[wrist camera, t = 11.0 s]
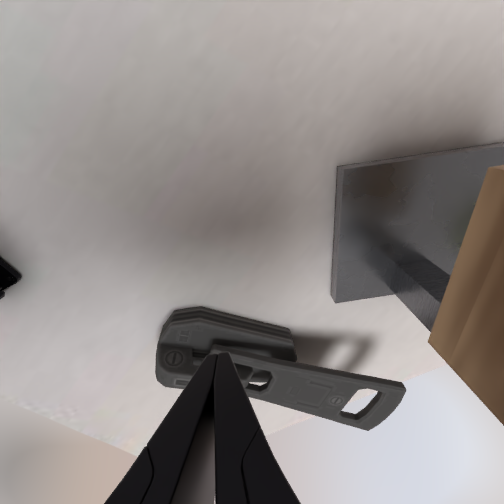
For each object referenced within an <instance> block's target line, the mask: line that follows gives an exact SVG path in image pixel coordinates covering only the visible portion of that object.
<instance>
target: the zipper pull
mask: <svg viewBox="0 0 504 504" xmlns="http://www.w3.org/2000/svg"><path fill="white" fill-rule="evenodd" d="M226 351H228V352H229V353H230V355H231V358H232V360H233V362H234V365H235V367H236V370H237V372H238V374H239V377H240V379H241V381H242V384H243V386H244V388H245V391H246V393H247V396H248V397H251V398H255V399H259V400H263V401H267V402H270V403H274V404H277V405H281V406H284V407H288V408H291V409H294V410H298V411H301V412H305V413H308V414H312V415H315V416H319V417H322V418H326V419H329V420H333V421H336V422H339V423H342V424H346V425H350V426H353V427H357V428H360V429H363V430H367V431H369V430H370V429H372V428H374V427H375V426H377V425H379V424H380V423H381V422H382V421H383V420H385V419H386V418H387V417H388V416H389V415H390V414H391V413H392V412H393V411H394V410H395V409H396V407H397V406H398V404H399V403H400V402H401V400H402V398H403V396H404V394H405V392H406V388H405V387H404V385H403V383H402V382H398V381H392V380H387V379H382V378H377V377H372V376H366V375H360V374H354V373H349V372H344V371H339V370H333V369H328V368H323V367H317V366H312V365H307V364H302V363H296V361H297V357H296V352H295V347H294V343H293V339H292V336H291V333H290V330H289V329H288V328H285V327H281V326H277V325H272V324H268V323H264V322H260V321H256V320H252V319H248V318H244V317H240V316H236V315H232V314H228V313H224V312H220V311H216V310H212V309H209V308H205V307H196V308H189V309H182V310H176V311H174V312H173V313H172V315H171V316H170V318H169V319H168V320H167V322H166V323H165V325H164V326H163V328H162V332H161V335H160V338H159V341H158V345H157V351H156V370H155V373H156V378H157V381H158V382H160V383H161V384H162V385H163V386H165V387H170V388H178V389H184V388H185V387H186V385H187V384H188V382H189V381H190V379H191V378H192V376H193V375H194V374H195V372H196V371H197V369H198V368H199V366H200V365H201V363H202V362H203V360H204V359H205V357H206V356H207V355H208V354H213V353H218V354H219V353H220V352H226ZM249 382H267V383H265V384H263V385H261V386H259V385H255V384H250V383H249ZM367 388H368V389H372V390H376V391H378V393H377V395H376V396H375V397H374V398H373V399H372V400H371V401H370V403H369V404H368V405H367V406H366V407H365V408H364V409H362V410H361V411H360V412H358V413H357V414H353V413H348V412H344V411H341V410H342V409H343V408H344V406H345V405H346V404H347V403H348V401H349V400H350V399H351V398H352V396H353V395H354V394H355V393H356V392H357V391H358V390H359V389H367Z"/></svg>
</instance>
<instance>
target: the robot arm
mask: <svg viewBox="0 0 504 504" xmlns="http://www.w3.org/2000/svg"><path fill="white" fill-rule="evenodd" d="M19 280H21V276H20V275H19V274H18V273H17V272H16V271H14V270H13V269H12V268H11V267H10V266H8V265H7V264H6V263H5V262H4V261H2V260H1V259H0V299H1V298H3V297H4V296H5V292H4V291H2V290H4V289H6V288H8V287H10V286H12V285H14V284H16V283H17V282H18V281H19ZM214 498H215V501H216V504H301V503H300V502H299V500H298V498H297V496H296V495H295V493H294V491H293V490H292V488H291V486H290V484H289V483H288V481H287V479H286V478H285V476H284V474H283V472H282V470H281V468H280V467H279V465H278V463H277V461H276V459H275V457H274V455H273V453H272V451H271V449H270V447H269V445H268V442H267V440H266V438H265V435H264V433H263V431H262V429H261V426H260V424H259V422H258V419H257V417H256V415H255V412H254V410H253V407H252V405H251V403H250V400H249V398H248V396H247V393H246V391H245V388H244V386H243V384H242V381H241V379H240V377H239V374H238V372H237V370H236V367H235V365H234V362H233V360H232V358H231V355H230V353H229V352H228V351H226V352H220V353H219V354H218V353H213V354H208V355H207V356H206V357H205V359H204V360H203V362H202V363H201V365H200V366H199V368H198V369H197V371H196V372H195V374H194V375H193V376H192V378H191V379H190V381H189V382H188V384H187V385H186V387H185V388H184V390H183V391H182V393H181V394H180V396H179V397H178V399H177V400H176V402H175V403H174V405H173V406H172V408H171V409H170V411H169V412H168V414H167V415H166V417H165V418H164V420H163V421H162V423H161V424H160V426H159V427H158V429H157V430H156V432H155V433H154V434H153V436H152V437H151V439H150V440H149V442H148V443H147V447H144V449H143V450H142V452H141V453H140V455H139V456H138V458H137V459H136V461H135V462H134V463H133V465H132V466H131V468H130V469H129V471H128V472H127V474H126V475H125V476H124V478H123V479H122V481H121V482H120V483H119V484H118V486H117V487H116V489H115V490H114V491H113V492H112V494H111V495H110V497H109V498H108V499H107V500H106V502H105V503H104V504H214Z"/></svg>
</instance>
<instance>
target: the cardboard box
mask: <svg viewBox="0 0 504 504" xmlns="http://www.w3.org/2000/svg"><path fill="white" fill-rule="evenodd" d="M428 343H429V344H430V345H431V346H432V347H433V348H434V349H435V350H436V351H437V353H438V354H439V355H440V356H441V357H442V358H443V359H444V360H445V361H446V362H447V364H448V365H449V366H450V367H451V368H452V369H453V370H454V371H455V372H456V373H457V375H458V376H459V377H460V378H461V379H462V380H463V381H464V382H465V383H466V384H467V386H468V387H469V388H470V389H471V390H472V391H473V392H474V393H475V394H476V395H477V397H479V399H480V400H481V401H482V402H483V403H484V404H485V405H486V406H487V407H488V409H489V410H490V411H491V412H492V413H493V414H494V415H495V416H496V417H497V419H498V420H499V421H500V422H501V423H502V424H503V425H504V165H500V166H494V167H488V170H487V173H486V176H485V179H484V182H483V185H482V187H481V190H480V193H479V196H478V199H477V202H476V205H475V208H474V210H473V213H472V216H471V219H470V222H469V225H468V228H467V231H466V233H465V236H464V239H463V242H462V245H461V248H460V251H459V254H458V256H457V259H456V262H455V265H454V268H453V271H452V274H451V276H450V279H449V282H448V285H447V288H446V291H445V294H444V297H443V299H442V302H441V305H440V308H439V311H438V314H437V317H436V320H435V322H434V325H433V328H432V331H431V334H430V337H429V340H428Z"/></svg>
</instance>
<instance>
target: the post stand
mask: <svg viewBox="0 0 504 504" xmlns="http://www.w3.org/2000/svg"><path fill="white" fill-rule="evenodd" d="M500 165H504V142H503V143H496V144H489V145H482V146H476V147H469V148H462V149H455V150H448V151H441V152H434V153H427V154H420V155H413V156H406V157H399V158H392V159H385V160H378V161H371V162H365V163H358V164H351V165H344V166H337V185H336V205H335V224H334V244H333V263H332V283H331V297H332V298H333V300H334V302H335V303H340V302H347V301H353V300H360V299H367V298H373V297H380V296H386V295H393V294H395V295H396V296H397V297H398V298H399V299H400V300H401V301H402V302H403V303H404V304H405V305H406V306H407V307H408V308H409V310H410V311H411V312H412V313H413V314H414V315H415V316H416V317H417V318H418V319H419V320H420V321H421V322H422V323H423V325H424V326H425V327H426V328H427V329H428V330H429V331H430V332H431V331H432V328H433V325H434V322H435V320H436V317H437V314H438V311H439V308H440V305H441V302H442V299H443V297H444V294H445V291H446V288H447V285H448V282H449V279H450V276H451V274H452V271H453V268H454V265H455V262H456V259H457V256H458V254H459V251H460V248H461V245H462V242H463V239H464V236H465V233H466V231H467V228H468V225H469V222H470V219H471V216H472V213H473V210H474V208H475V205H476V202H477V199H478V196H479V193H480V190H481V187H482V185H483V182H484V179H485V176H486V173H487V170H488V167H494V166H500Z"/></svg>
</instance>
